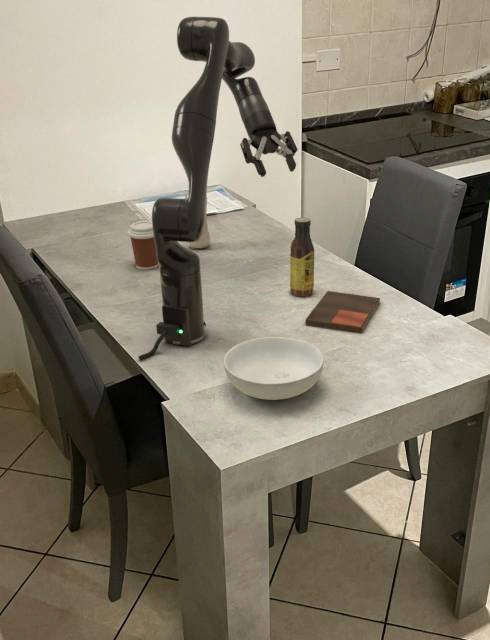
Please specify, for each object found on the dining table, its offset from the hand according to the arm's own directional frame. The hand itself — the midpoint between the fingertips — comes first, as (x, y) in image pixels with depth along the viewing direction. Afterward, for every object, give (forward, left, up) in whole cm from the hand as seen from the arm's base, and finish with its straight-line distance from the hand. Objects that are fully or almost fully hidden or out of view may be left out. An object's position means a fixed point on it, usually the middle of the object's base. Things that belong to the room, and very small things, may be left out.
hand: (278, 172), depth 205 cm
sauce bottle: (-8, -9, -29) cm, 31 cm away
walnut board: (-17, -23, -29) cm, 40 cm away
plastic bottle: (+14, +31, -29) cm, 45 cm away
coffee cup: (-4, +39, -29) cm, 49 cm away
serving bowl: (-56, -19, -29) cm, 65 cm away
